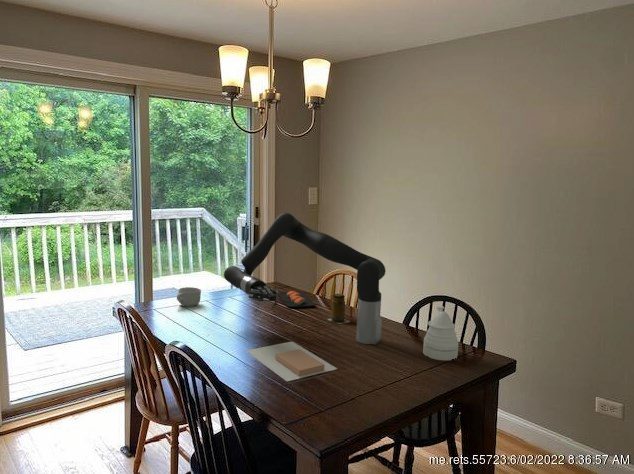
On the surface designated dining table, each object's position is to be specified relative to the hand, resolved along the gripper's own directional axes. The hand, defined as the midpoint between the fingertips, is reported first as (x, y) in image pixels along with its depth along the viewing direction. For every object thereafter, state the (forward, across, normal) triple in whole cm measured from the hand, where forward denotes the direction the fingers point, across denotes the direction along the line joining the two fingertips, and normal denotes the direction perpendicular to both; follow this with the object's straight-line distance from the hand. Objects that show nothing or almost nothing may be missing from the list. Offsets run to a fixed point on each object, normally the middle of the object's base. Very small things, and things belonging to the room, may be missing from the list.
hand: (274, 298), depth 179 cm
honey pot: (+36, +52, +21) cm, 67 cm away
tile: (+12, -1, +17) cm, 21 cm away
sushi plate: (-56, +35, +24) cm, 70 cm away
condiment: (-15, +42, +23) cm, 50 cm away
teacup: (-70, -10, +22) cm, 74 cm away
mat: (+14, -2, +19) cm, 24 cm away
